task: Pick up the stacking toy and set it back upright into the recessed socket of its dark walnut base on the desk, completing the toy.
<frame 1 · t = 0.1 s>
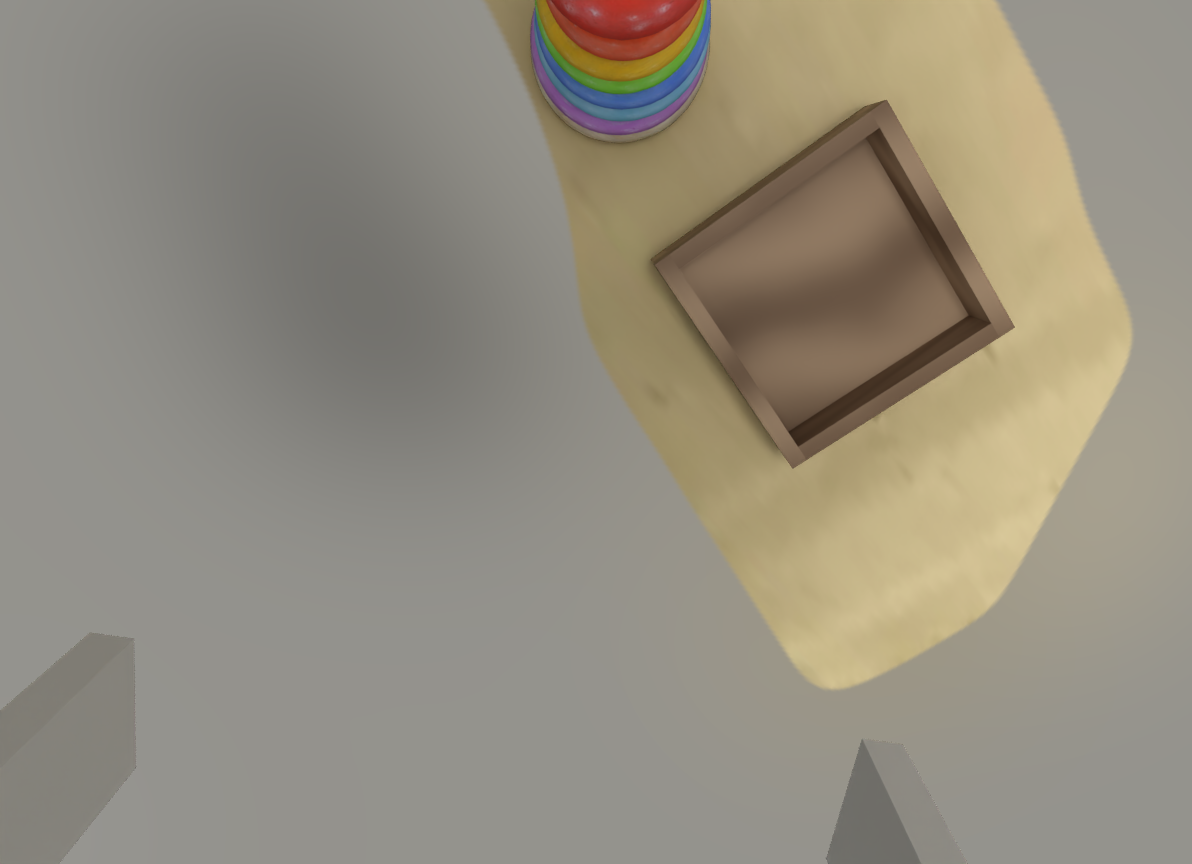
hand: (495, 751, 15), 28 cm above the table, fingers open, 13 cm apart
walnut base: (819, 288, 40), on the table
stacking toy: (619, 51, 37), on the table
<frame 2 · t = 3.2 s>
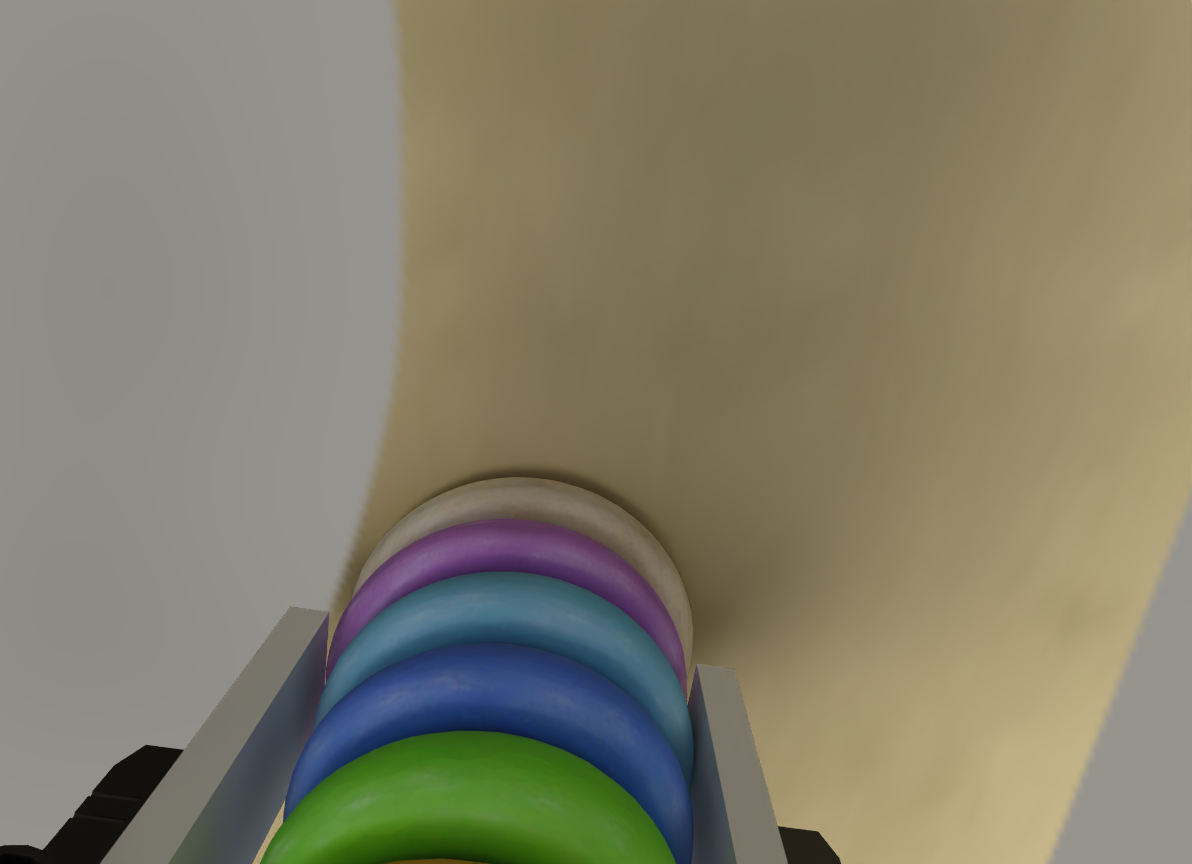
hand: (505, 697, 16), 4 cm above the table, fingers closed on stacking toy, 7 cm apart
stacking toy: (525, 614, 20), on the table, touching gripper
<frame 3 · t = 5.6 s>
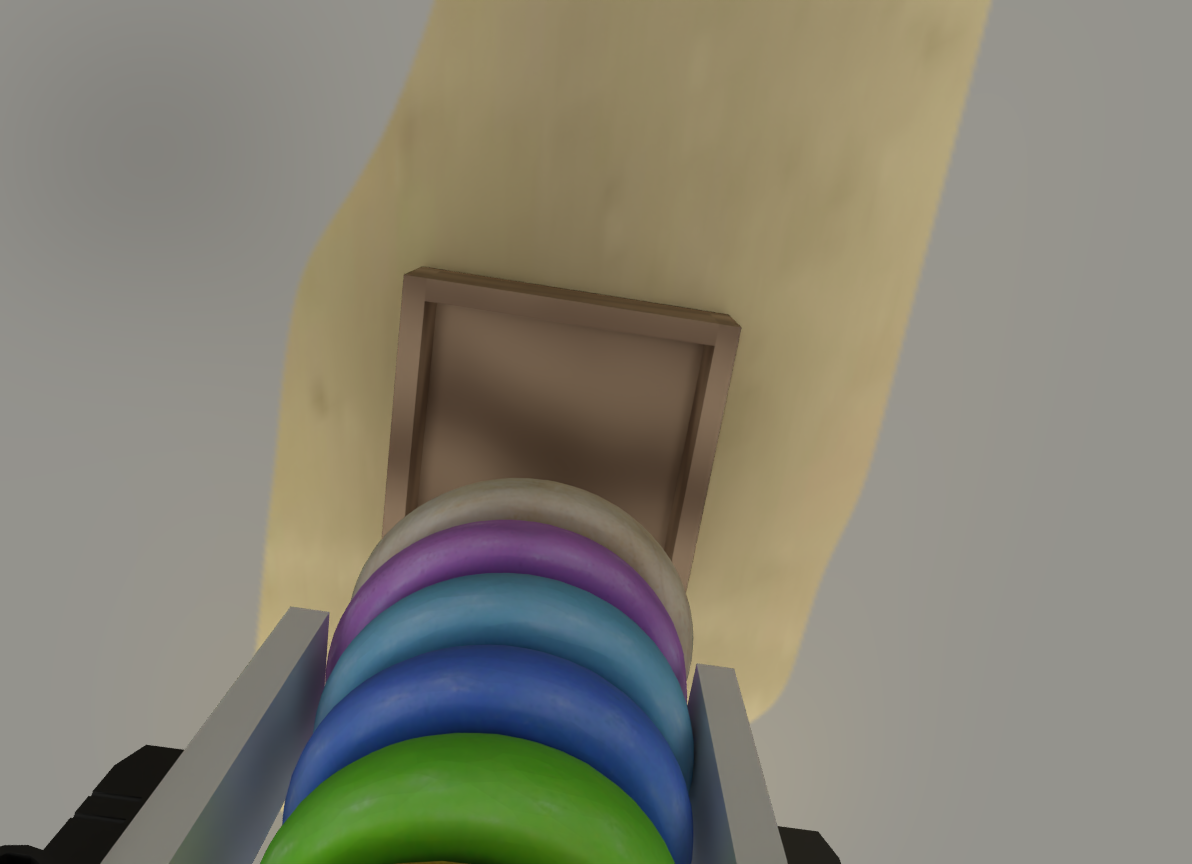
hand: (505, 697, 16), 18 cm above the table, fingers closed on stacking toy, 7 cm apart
walnut base: (555, 436, 33), on the table
stacking toy: (525, 615, 20), point 14 cm above the table, touching gripper
when the fingers open (5 cm above the table, at t = 8.1 s): stacking toy drops 1 cm, resting on walnut base.
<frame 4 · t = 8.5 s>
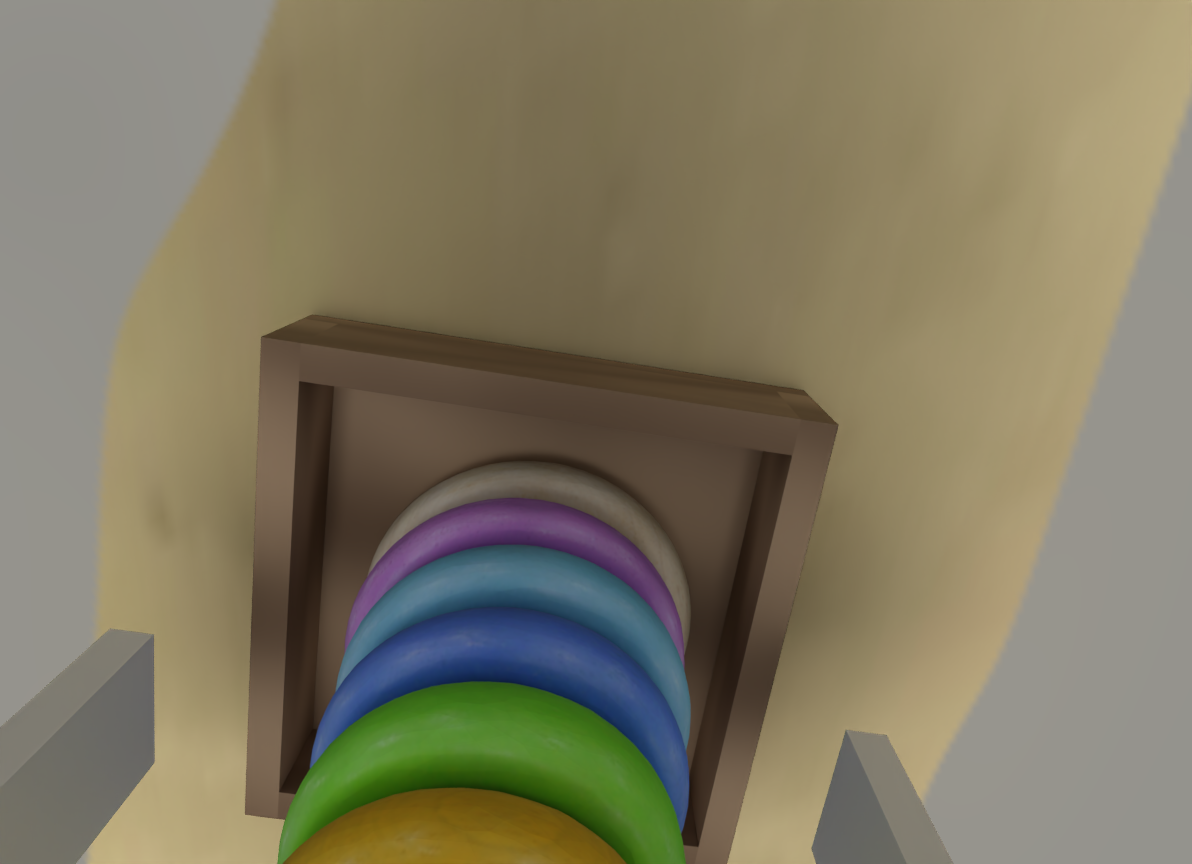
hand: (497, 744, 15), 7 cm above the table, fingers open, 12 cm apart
walnut base: (528, 574, 21), on the table
stacking toy: (531, 592, 21), resting on walnut base
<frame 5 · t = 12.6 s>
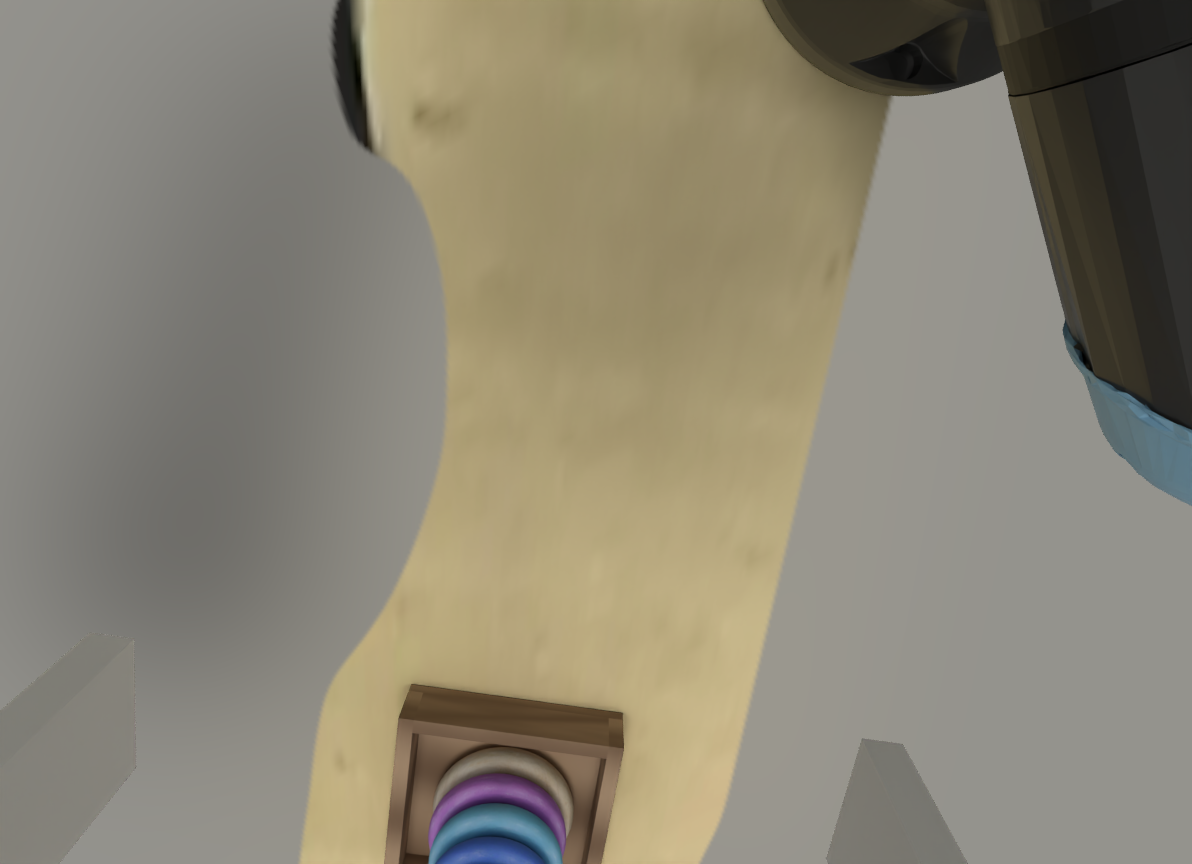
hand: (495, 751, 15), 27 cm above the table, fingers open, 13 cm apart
walnut base: (504, 785, 47), on the table
stacking toy: (505, 795, 47), resting on walnut base
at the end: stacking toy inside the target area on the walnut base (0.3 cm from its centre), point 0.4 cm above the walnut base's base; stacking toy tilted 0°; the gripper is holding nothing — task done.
